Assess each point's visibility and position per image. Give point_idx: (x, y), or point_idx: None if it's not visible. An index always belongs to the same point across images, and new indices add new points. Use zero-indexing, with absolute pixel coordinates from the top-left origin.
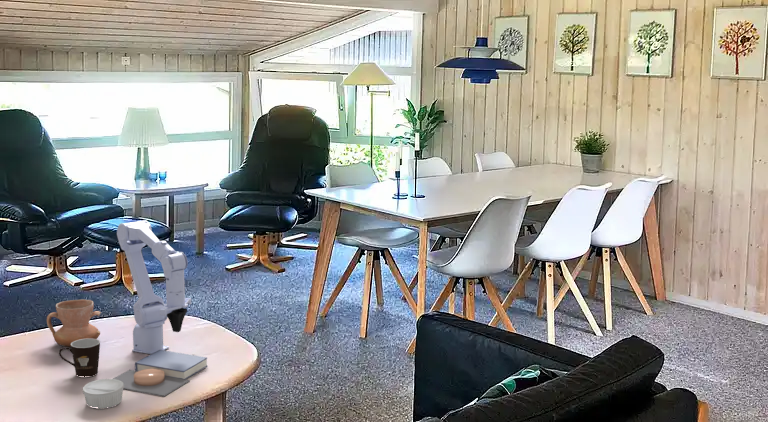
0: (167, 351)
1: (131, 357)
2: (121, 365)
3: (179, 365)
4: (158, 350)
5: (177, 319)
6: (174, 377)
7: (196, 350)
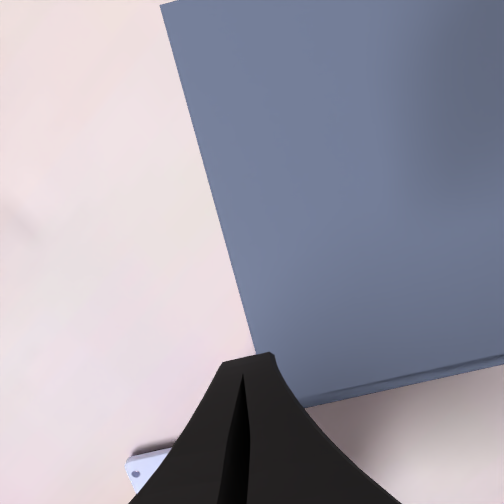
0: None
1: None
2: (460, 441)
3: (440, 54)
4: None
5: (372, 489)
6: None
7: (31, 322)
